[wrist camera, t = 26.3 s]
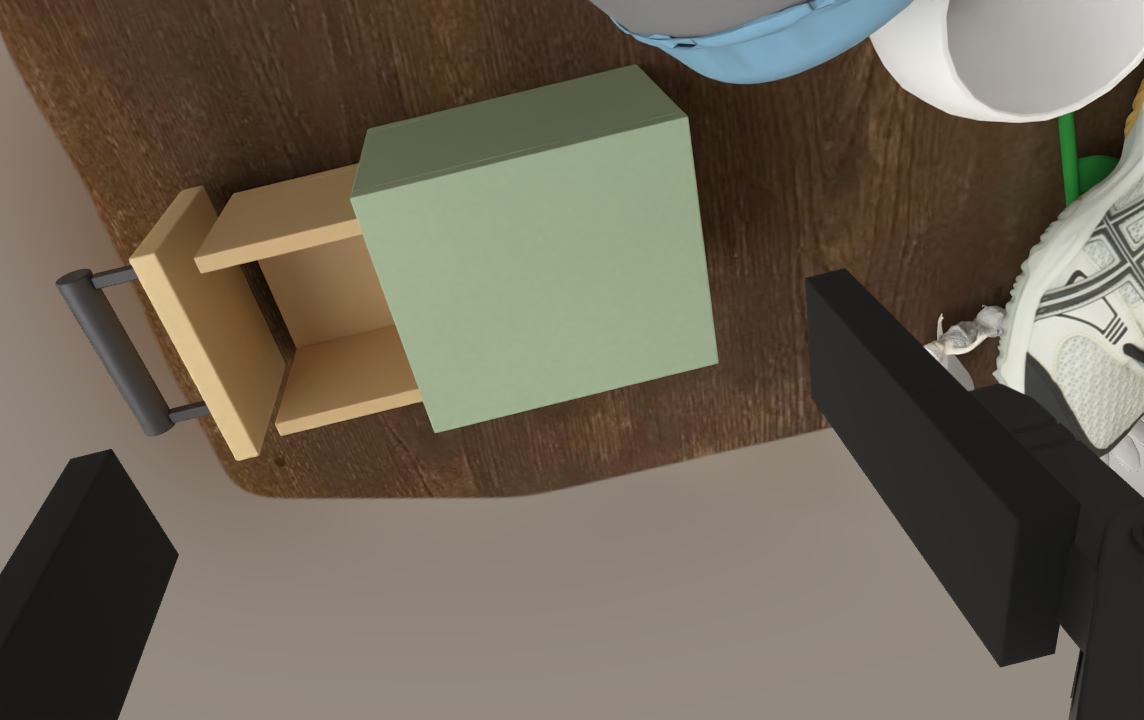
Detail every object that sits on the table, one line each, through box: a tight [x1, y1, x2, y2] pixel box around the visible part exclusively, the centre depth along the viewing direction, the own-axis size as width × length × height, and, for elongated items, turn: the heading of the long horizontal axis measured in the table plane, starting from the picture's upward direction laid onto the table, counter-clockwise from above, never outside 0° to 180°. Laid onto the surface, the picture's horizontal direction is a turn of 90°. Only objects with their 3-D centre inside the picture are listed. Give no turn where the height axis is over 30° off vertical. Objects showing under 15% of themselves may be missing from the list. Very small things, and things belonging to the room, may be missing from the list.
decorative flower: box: [992, 112, 1144, 472], centre depth 52 cm, size 13×5×30 cm
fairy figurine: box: [923, 305, 1007, 391], centre depth 55 cm, size 6×7×7 cm
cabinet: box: [350, 64, 719, 433], centre depth 43 cm, size 15×13×11 cm
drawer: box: [55, 163, 423, 461], centre depth 42 cm, size 18×11×9 cm, turn 101°
